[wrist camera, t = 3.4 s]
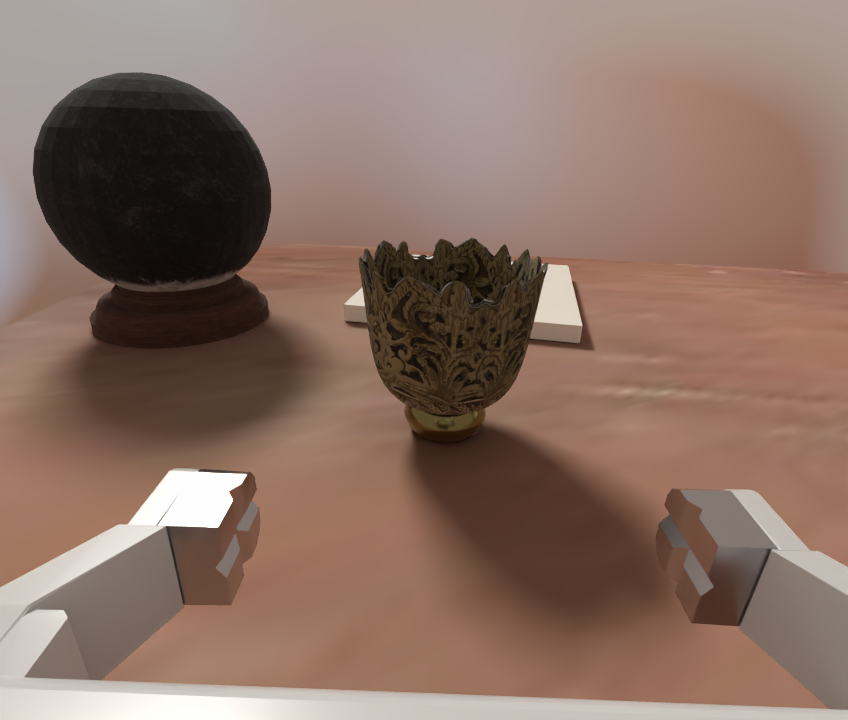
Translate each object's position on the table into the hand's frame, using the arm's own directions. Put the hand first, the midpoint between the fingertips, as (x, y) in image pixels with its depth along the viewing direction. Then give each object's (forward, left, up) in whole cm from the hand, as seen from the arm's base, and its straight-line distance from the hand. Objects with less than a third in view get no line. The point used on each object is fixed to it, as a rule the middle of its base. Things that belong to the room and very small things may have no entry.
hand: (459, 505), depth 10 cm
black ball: (+22, -22, -6) cm, 32 cm away
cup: (+2, -12, -6) cm, 14 cm away
